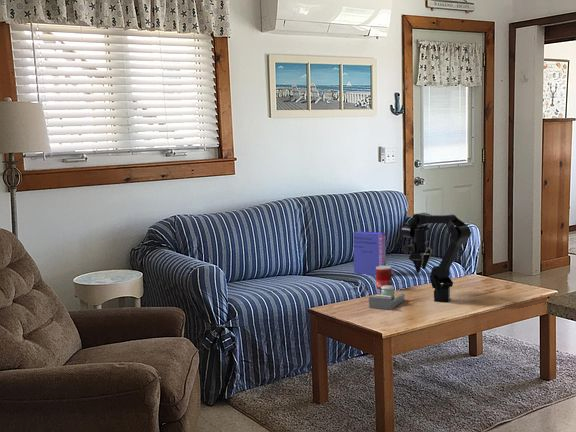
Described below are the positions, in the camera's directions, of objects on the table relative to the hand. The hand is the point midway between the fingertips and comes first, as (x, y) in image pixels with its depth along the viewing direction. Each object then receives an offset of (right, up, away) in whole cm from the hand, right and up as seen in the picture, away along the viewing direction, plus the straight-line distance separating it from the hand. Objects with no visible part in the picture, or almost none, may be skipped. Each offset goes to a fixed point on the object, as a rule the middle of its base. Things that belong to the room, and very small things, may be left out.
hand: (420, 271), depth 314 cm
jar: (-17, -14, -10) cm, 24 cm away
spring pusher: (-21, -14, -16) cm, 30 cm away
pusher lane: (-18, -14, -11) cm, 25 cm away
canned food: (-15, -11, +19) cm, 26 cm away
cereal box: (-18, -7, +53) cm, 57 cm away
